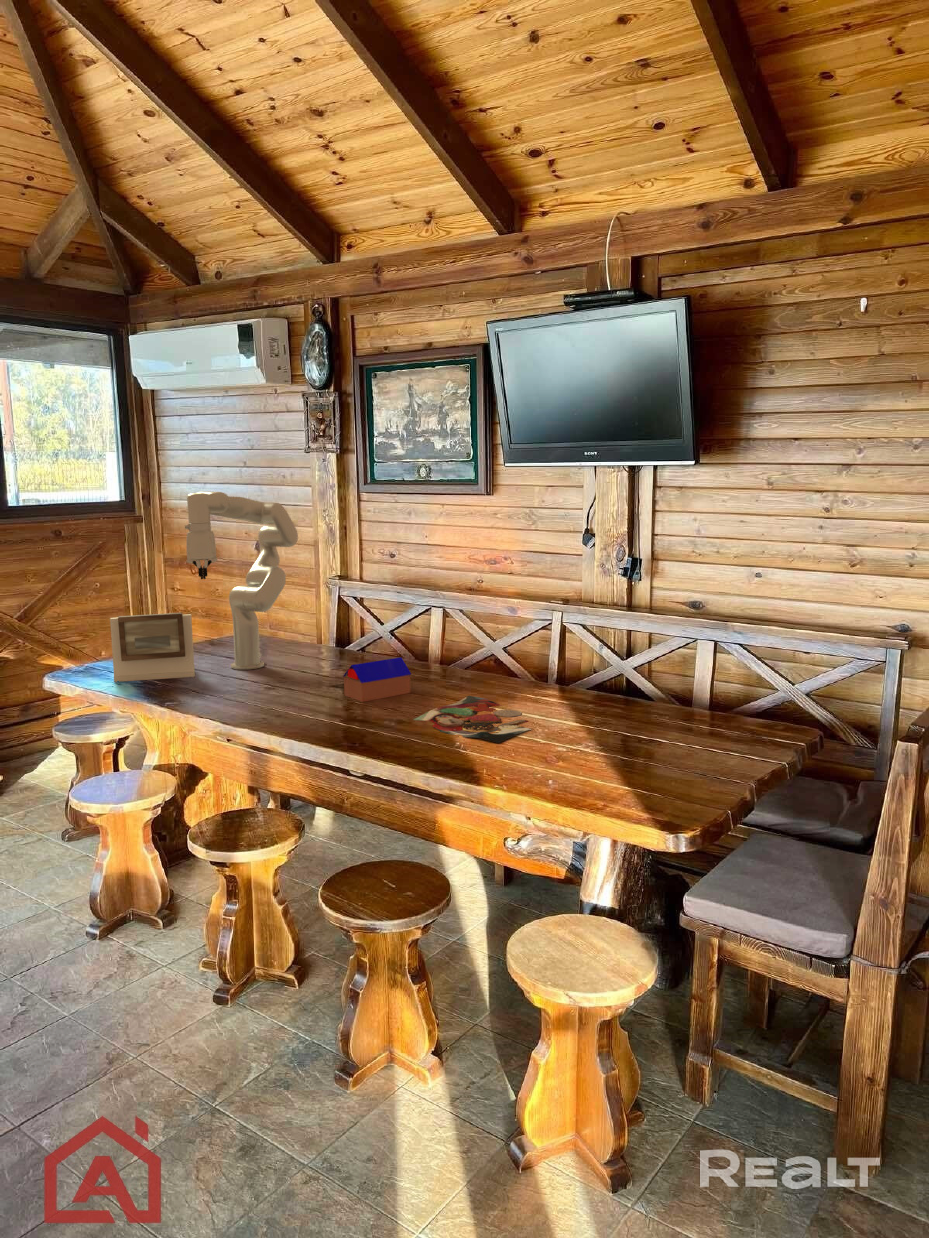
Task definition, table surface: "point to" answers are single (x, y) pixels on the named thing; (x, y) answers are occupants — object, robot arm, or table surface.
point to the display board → (153, 667)
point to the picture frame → (151, 636)
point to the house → (377, 679)
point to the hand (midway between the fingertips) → (203, 578)
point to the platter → (474, 720)
